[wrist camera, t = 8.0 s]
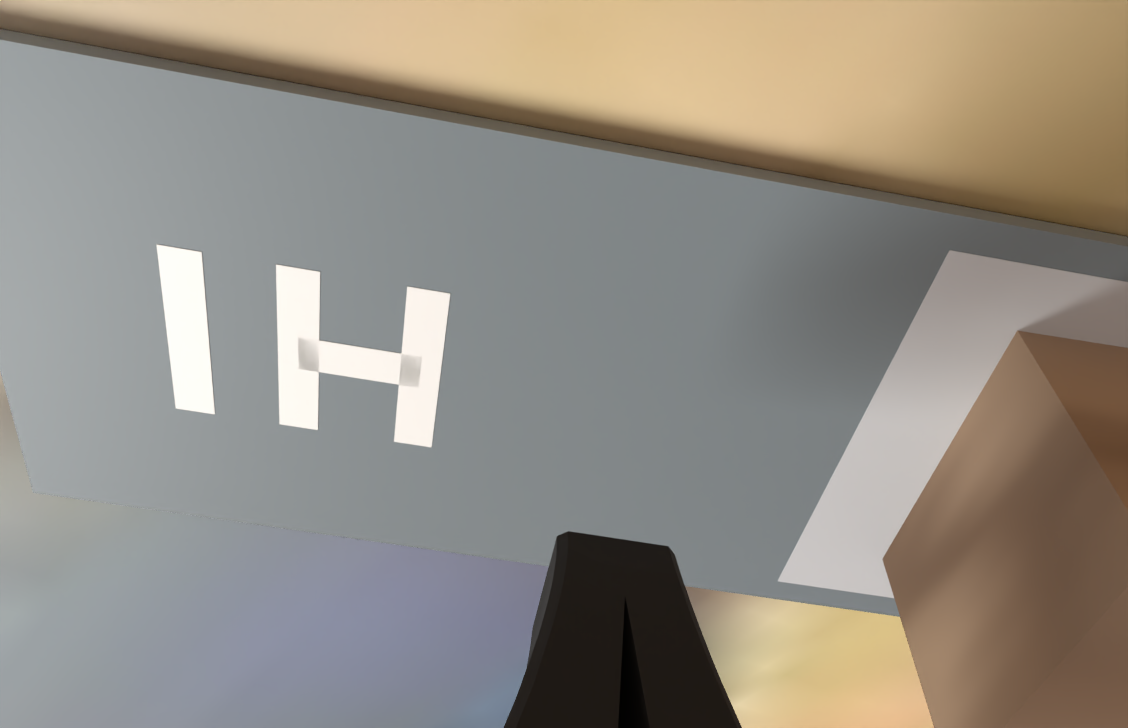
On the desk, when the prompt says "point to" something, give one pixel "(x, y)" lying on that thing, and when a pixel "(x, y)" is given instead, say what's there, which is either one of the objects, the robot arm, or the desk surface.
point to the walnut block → (1025, 548)
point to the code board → (492, 325)
